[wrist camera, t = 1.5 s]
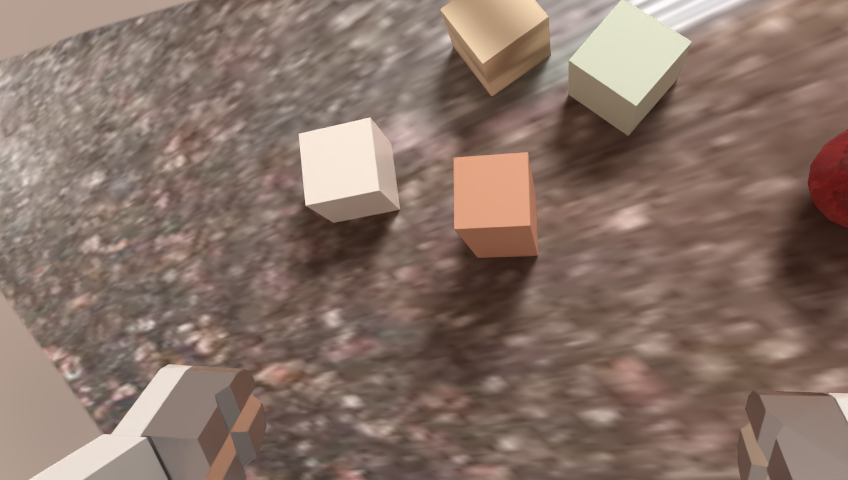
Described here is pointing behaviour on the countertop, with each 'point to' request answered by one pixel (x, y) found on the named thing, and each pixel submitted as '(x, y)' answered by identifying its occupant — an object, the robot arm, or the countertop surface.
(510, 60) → the maple block
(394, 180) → the ceramic block
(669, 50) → the sage block
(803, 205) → the countertop surface
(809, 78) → the countertop surface
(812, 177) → the onion
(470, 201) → the terracotta post
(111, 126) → the countertop surface
